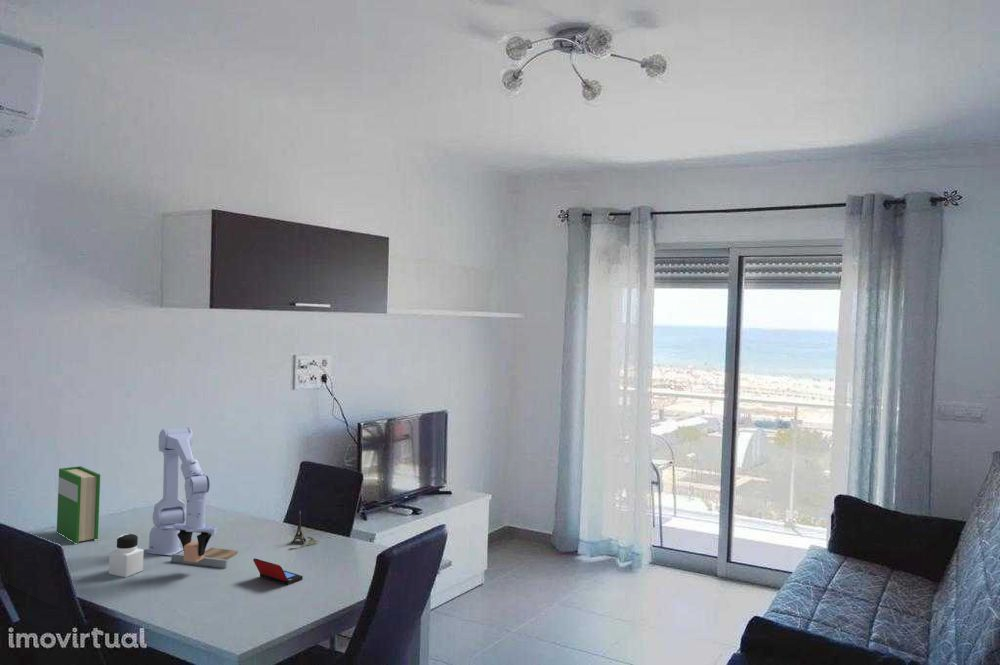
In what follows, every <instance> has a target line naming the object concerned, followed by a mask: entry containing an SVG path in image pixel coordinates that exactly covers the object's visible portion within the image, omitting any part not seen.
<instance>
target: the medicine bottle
mask: <svg viewBox="0 0 1000 665" xmlns="http://www.w3.org/2000/svg"><path fill="white" fill-rule="evenodd" d="M138 539H139V537H138V535H137V534H133V533H126V534H125V533H124V534H121V535H119V536H118V537H117V538H116V548H115V550H112V551H110V552H109V560H108V561H109V562H108V563H109V564H108V574H109V575H112V576H118V577H122V578H128V577H131V576H133V575H136V574H139V573H141V572H142V571H143V570H144V549H143V548H138V542H139V541H138Z"/></svg>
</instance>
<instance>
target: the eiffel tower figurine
mask: <svg viewBox="0 0 1000 665" xmlns="http://www.w3.org/2000/svg"><path fill="white" fill-rule="evenodd" d="M301 513H302V512H301V511H298V522H297V529H296V532H295V534H294V538H293V539H292V540H291V543H290V546H300V547H299V549H302V548H305V547H309V546H313V545H317V544H319V540H316V539H315V538H313V537H311V536H310V535H308V536H304V534H303V530H302V525H301V522H302V521H301V520H302V518H301ZM306 538H307V539H308V540H307V539H306ZM287 550H288V551H292V550H298V547H296V548H295V547H289V548H288V549H287Z"/></svg>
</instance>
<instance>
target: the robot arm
mask: <svg viewBox="0 0 1000 665" xmlns="http://www.w3.org/2000/svg"><path fill="white" fill-rule="evenodd" d="M193 441H194V433H193V430H192V429H191V428H190V427H186V428H184V427H183V428H168V429H167V428H166V429H165V428H162V429H161V430H160V432H159V435H158V451H159V452H160V453H163V476H162V477H163V483H162V484H163V486H162V489H163V490H162V492H163V493H162V499H160V500H159V501H158V502H157V503H155V504H154V506H153V513H152V522H153V527H152V528H151V529H150V532H149V537H148V539H149V540H148V551H147V554H154V555H162V556H169V557H170V556H171V557H172V554H173V553H174V554H179V553H180V552H182V551H184V545H186V544H188V543H190V542H192V536H193V533H196V534H197V535H196V539H197V542H198V555H199V556H202V555H204V552H205V551H206V549H207V545H208V543H209V541H210V539H211V537H212V536H215V535H217V534H218V527H215V526H211V525H207V524H206V506H207V493H208V492H209V490H210V485H211V484H210V478H209V475H208V474H206V472H203V470H202V468H201V465H200V462H199V460H198V459H196V458H194V456H193V452H192V444H193ZM179 459H180V461H181V462H182V463H181V464H179V463H180V462H179ZM179 465H180V470H181V472H182V476H183V478H184V490H185V491H184V492H185V499H186V503H185V502H184V501H183V500H181V499H180V498H179ZM180 542H181V544H180ZM180 545H181V546H182V547H181V546H180Z"/></svg>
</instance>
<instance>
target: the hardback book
mask: <svg viewBox="0 0 1000 665" xmlns="http://www.w3.org/2000/svg"><path fill="white" fill-rule="evenodd" d="M57 487H58V489H57V514H56V517H57V518H56V533H57V532H58V533H60V534H62V535H64V536H65V537H67V538H68V539H70V540H72V541H73V542H75V543H78V542H83V541H84V542H85V541H90V540H93V539H98V540H99V523H100V522H99V521H100V520H99V518H100V515H99V514H100V493H101V492H100V491H101V474H100V473H98V472H95V471H93V470H91V469H88V468H86V467H83V466H82V465H79V466H78V465H77V466H71V467H62V468H61V467H60V468H58V486H57Z"/></svg>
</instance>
